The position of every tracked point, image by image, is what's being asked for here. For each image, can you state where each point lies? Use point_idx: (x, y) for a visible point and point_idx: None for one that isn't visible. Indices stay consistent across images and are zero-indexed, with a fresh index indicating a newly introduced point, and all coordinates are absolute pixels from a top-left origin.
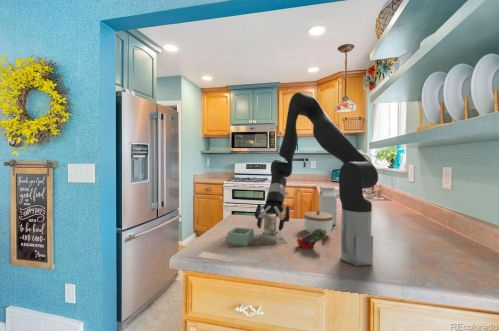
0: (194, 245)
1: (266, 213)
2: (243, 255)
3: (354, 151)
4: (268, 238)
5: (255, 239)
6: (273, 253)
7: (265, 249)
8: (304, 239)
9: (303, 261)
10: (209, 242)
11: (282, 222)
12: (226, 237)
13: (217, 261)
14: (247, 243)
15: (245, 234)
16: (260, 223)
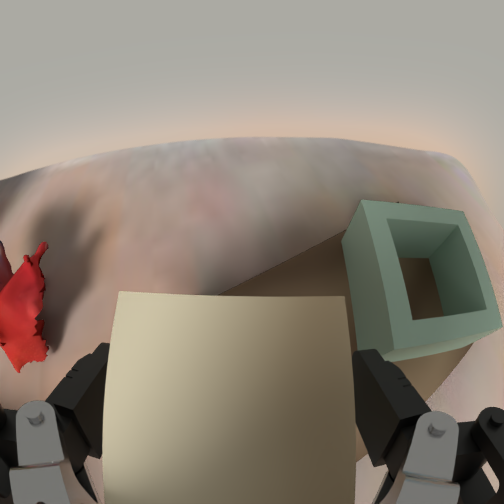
0: (500, 234)
1: (352, 488)
2: (316, 196)
3: None
4: None
5: None
6: (185, 250)
7: None
8: (6, 278)
9: (70, 216)
10: (497, 276)
11: (60, 392)
12: None
13: (365, 147)
14: (345, 242)
15: (377, 209)
16: (366, 388)
